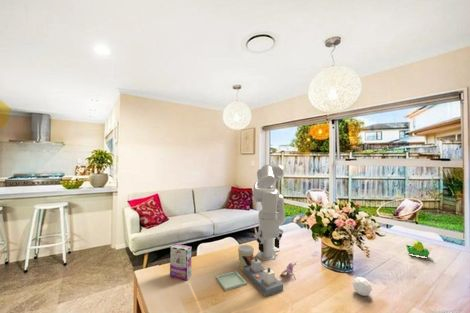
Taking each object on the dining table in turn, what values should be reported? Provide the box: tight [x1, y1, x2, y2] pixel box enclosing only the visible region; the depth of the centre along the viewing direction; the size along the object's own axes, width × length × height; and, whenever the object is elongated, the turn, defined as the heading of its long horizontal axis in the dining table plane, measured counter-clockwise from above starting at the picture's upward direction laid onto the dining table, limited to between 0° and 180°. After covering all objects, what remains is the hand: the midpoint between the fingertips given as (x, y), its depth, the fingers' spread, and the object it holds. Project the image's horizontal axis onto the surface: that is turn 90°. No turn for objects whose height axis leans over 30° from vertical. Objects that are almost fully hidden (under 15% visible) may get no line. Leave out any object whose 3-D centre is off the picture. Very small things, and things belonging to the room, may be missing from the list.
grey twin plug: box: [251, 256, 262, 274], centre depth 113 cm, size 4×4×10 cm
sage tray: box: [216, 270, 247, 292], centre depth 108 cm, size 12×12×2 cm
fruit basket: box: [405, 240, 431, 257], centre depth 140 cm, size 11×9×11 cm
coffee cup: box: [237, 244, 255, 271], centre depth 122 cm, size 9×9×12 cm
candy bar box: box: [169, 243, 193, 281], centre depth 113 cm, size 11×5×16 cm, turn 70°
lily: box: [280, 261, 298, 280], centre depth 112 cm, size 12×12×10 cm
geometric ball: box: [352, 276, 373, 297], centre depth 99 cm, size 8×8×8 cm
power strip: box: [243, 265, 284, 297], centre depth 108 cm, size 22×10×4 cm, turn 26°
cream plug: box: [263, 267, 276, 286], centre depth 103 cm, size 4×4×10 cm
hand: (269, 249), depth 103 cm, fingers open, 9 cm apart
